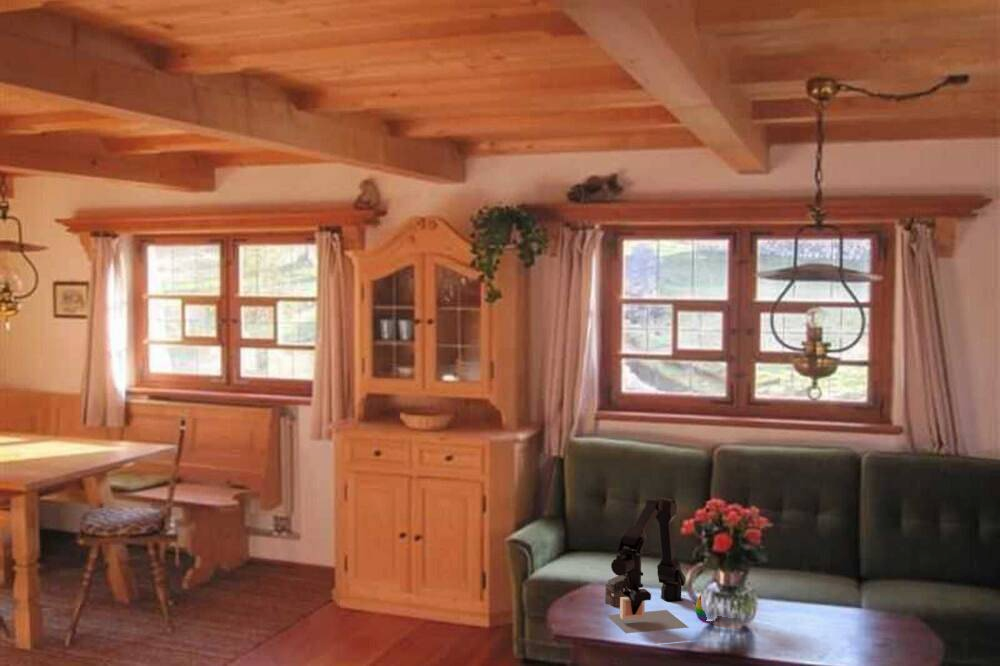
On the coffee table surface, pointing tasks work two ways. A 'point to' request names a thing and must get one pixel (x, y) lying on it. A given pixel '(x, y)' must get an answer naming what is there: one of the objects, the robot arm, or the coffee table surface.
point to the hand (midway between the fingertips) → (632, 612)
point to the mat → (648, 622)
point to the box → (613, 597)
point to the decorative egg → (700, 610)
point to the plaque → (627, 611)
